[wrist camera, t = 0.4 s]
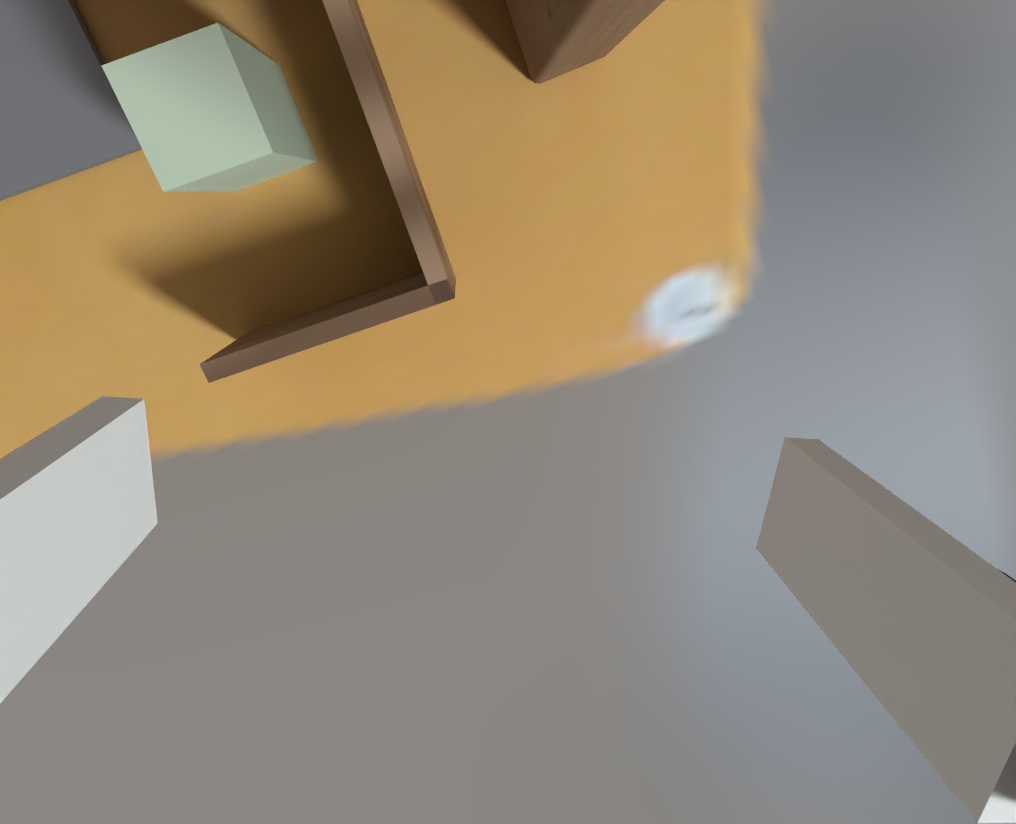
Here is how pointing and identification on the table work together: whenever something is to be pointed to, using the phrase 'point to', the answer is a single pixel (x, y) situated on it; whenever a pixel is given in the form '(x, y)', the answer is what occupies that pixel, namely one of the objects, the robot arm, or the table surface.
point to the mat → (53, 98)
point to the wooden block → (572, 31)
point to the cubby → (414, 209)
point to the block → (210, 112)
